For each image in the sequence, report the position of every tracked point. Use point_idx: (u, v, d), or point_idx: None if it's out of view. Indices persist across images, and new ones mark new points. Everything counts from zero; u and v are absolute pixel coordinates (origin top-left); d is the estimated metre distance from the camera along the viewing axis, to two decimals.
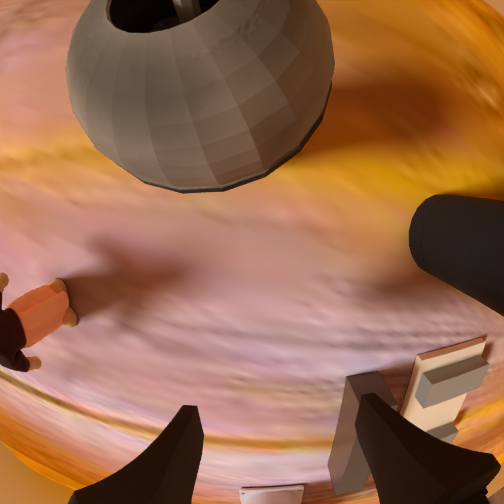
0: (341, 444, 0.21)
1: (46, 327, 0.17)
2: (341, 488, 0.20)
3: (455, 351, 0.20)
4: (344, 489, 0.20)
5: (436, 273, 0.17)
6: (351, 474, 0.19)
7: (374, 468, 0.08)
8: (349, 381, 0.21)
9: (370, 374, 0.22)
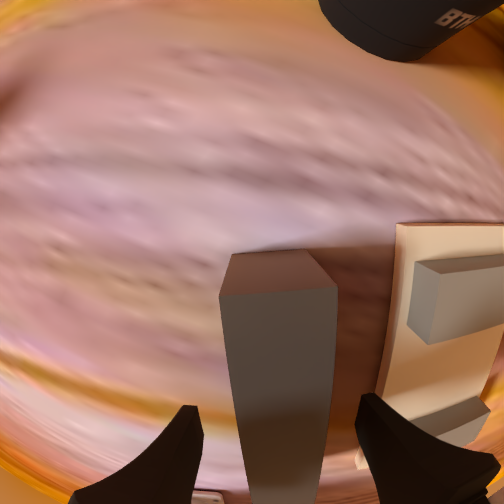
0: None
1: None
2: None
3: (474, 227, 0.10)
4: None
5: (364, 3, 0.07)
6: (269, 489, 0.09)
7: (374, 468, 0.08)
8: (232, 259, 0.11)
9: (286, 251, 0.11)
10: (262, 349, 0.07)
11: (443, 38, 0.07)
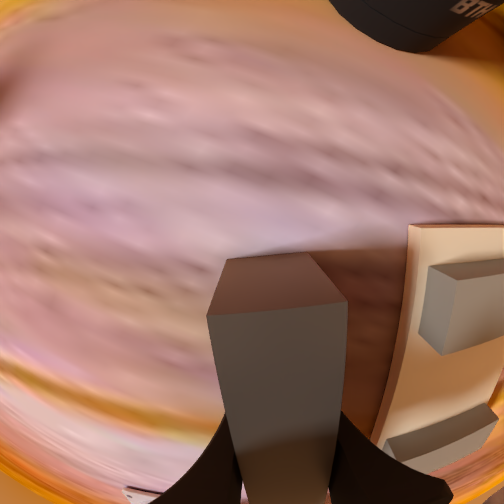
0: None
1: None
2: None
3: (489, 228, 0.09)
4: None
5: None
6: None
7: None
8: (226, 266, 0.10)
9: (286, 256, 0.10)
10: (260, 374, 0.06)
11: (457, 28, 0.06)
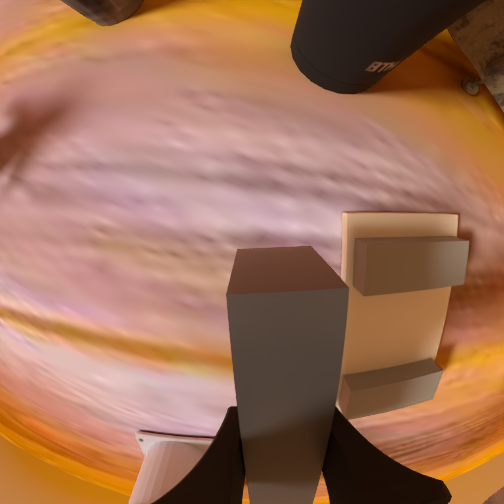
0: None
1: None
2: None
3: (407, 214, 0.16)
4: None
5: (317, 59, 0.12)
6: (268, 490, 0.09)
7: (327, 478, 0.08)
8: (237, 255, 0.11)
9: (292, 249, 0.11)
10: (269, 350, 0.07)
11: (378, 77, 0.13)
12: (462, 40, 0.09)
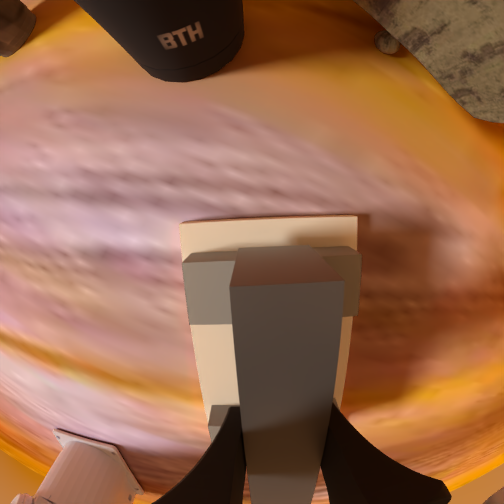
0: None
1: None
2: None
3: (265, 220, 0.14)
4: None
5: (129, 53, 0.10)
6: (269, 483, 0.09)
7: (327, 478, 0.08)
8: (239, 253, 0.11)
9: (291, 247, 0.12)
10: (269, 341, 0.08)
11: (203, 51, 0.10)
12: None
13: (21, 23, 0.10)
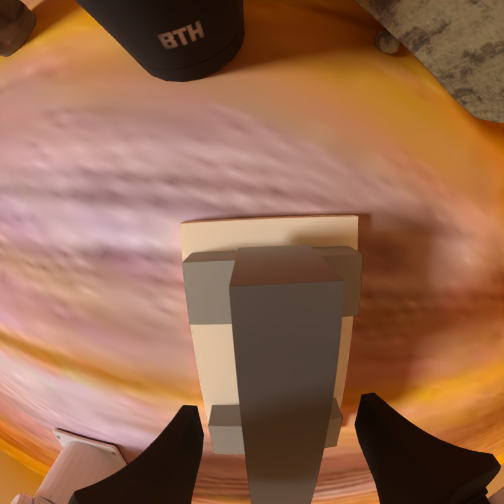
0: None
1: None
2: None
3: (266, 220, 0.14)
4: None
5: (130, 53, 0.10)
6: (268, 484, 0.09)
7: (374, 468, 0.08)
8: (238, 253, 0.11)
9: (291, 247, 0.12)
10: (269, 340, 0.08)
11: (203, 50, 0.10)
12: None
13: (21, 23, 0.10)
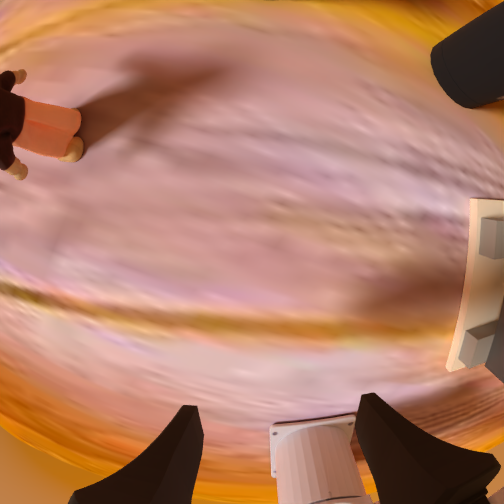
0: None
1: (47, 140, 0.14)
2: None
3: None
4: None
5: (465, 82, 0.13)
6: None
7: (374, 468, 0.08)
8: None
9: None
10: None
11: None
12: None
13: None
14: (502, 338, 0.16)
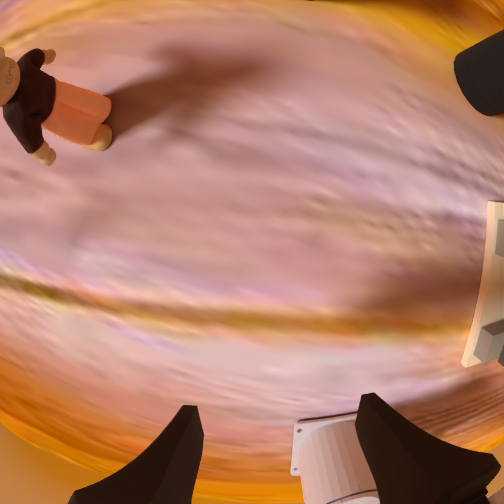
0: None
1: (76, 125, 0.14)
2: None
3: None
4: None
5: (488, 92, 0.13)
6: None
7: (374, 468, 0.08)
8: None
9: None
10: None
11: None
12: None
13: None
14: None
